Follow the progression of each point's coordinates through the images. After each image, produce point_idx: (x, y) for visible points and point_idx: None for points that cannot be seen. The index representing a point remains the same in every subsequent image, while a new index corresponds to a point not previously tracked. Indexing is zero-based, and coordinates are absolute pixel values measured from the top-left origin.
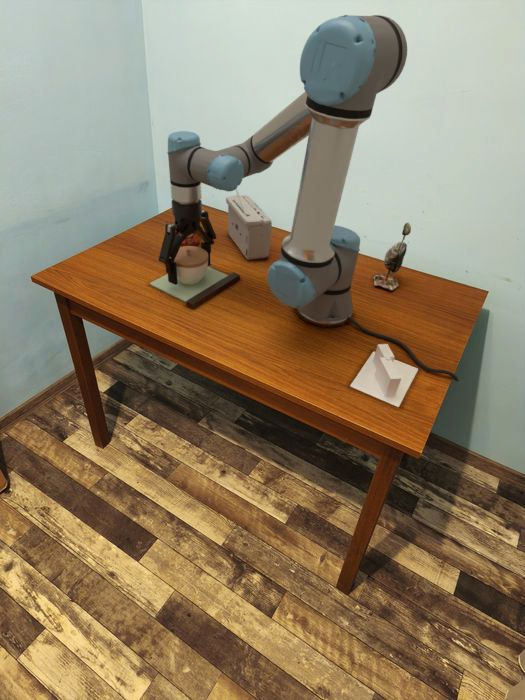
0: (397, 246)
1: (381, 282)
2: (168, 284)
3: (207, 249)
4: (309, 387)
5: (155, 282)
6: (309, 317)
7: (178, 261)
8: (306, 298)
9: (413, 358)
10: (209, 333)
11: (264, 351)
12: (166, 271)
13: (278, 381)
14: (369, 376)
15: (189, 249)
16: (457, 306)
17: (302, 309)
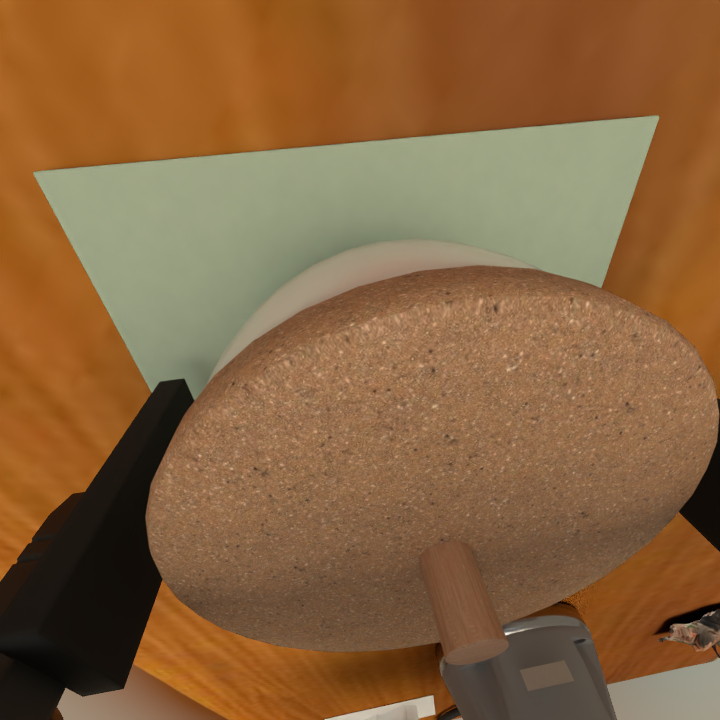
0: None
1: (684, 636)
2: (204, 308)
3: (690, 511)
4: (266, 715)
5: (106, 204)
6: (441, 672)
7: (212, 607)
8: None
9: (450, 715)
10: (182, 613)
11: (270, 669)
12: (51, 521)
13: (228, 705)
14: (367, 714)
15: (482, 656)
16: (641, 670)
17: (454, 673)
